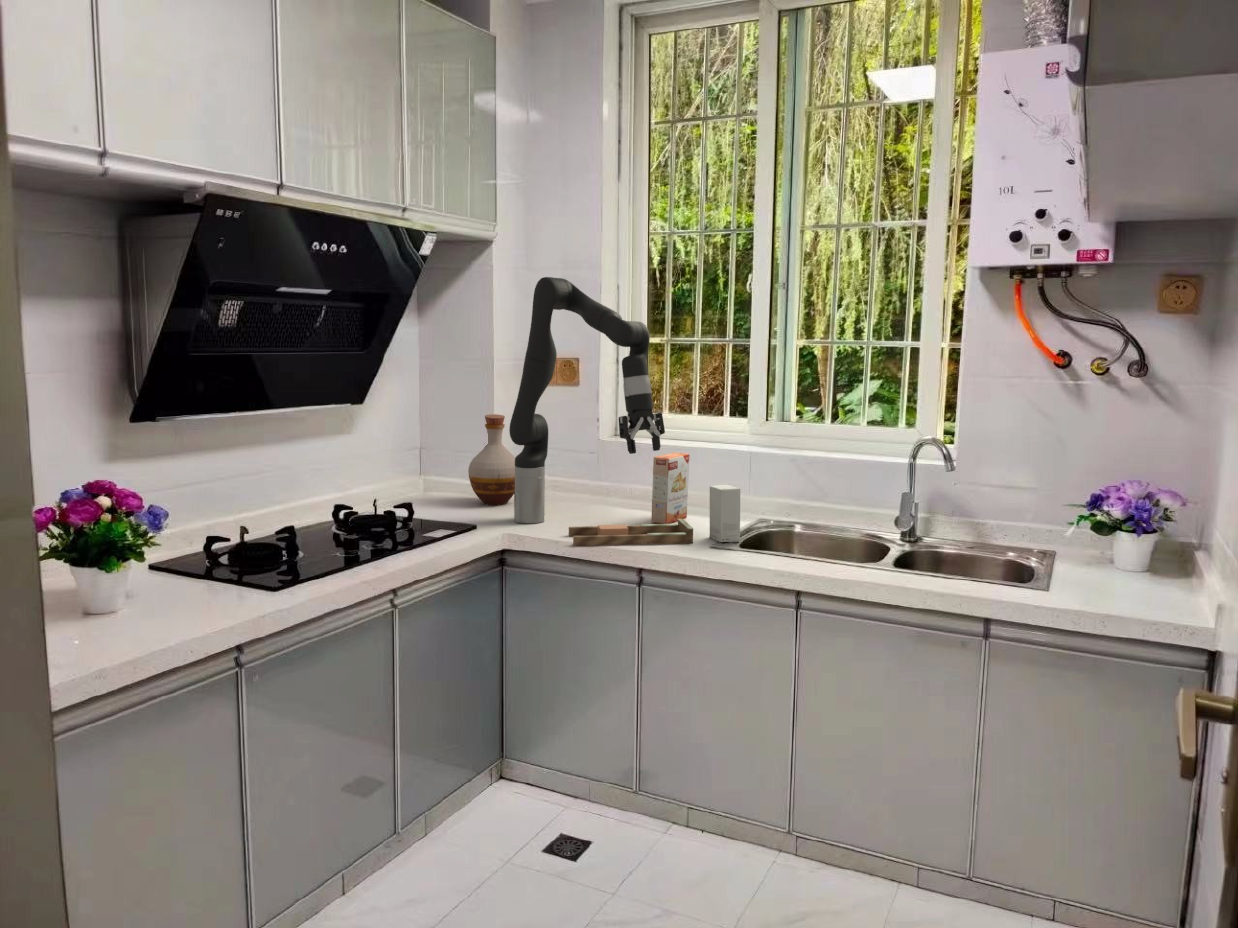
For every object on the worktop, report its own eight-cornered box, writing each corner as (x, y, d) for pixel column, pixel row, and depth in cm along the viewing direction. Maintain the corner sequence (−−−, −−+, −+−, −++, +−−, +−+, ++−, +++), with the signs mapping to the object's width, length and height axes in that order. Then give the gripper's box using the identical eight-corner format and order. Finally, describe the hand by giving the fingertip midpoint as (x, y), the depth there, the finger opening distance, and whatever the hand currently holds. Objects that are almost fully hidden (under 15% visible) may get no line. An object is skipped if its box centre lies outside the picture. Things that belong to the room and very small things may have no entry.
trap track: (573, 545, 258) (573, 530, 257) (568, 535, 270) (568, 520, 270) (693, 543, 263) (693, 528, 263) (682, 532, 276) (682, 518, 275)
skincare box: (740, 542, 265) (742, 488, 263) (719, 543, 263) (720, 489, 261) (728, 535, 273) (729, 483, 271) (707, 537, 271) (709, 484, 269)
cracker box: (667, 525, 286) (669, 458, 282) (650, 523, 289) (652, 456, 285) (688, 517, 297) (690, 453, 294) (671, 515, 300) (673, 451, 297)
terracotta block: (600, 542, 263) (600, 529, 262) (597, 538, 268) (597, 525, 267) (628, 541, 264) (628, 528, 264) (624, 537, 269) (624, 524, 269)
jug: (461, 499, 321) (460, 413, 317) (510, 495, 329) (510, 411, 324) (477, 509, 304) (476, 418, 299) (528, 506, 311) (528, 417, 307)
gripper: (649, 393, 263) (655, 450, 263) (609, 396, 254) (616, 455, 254) (666, 390, 257) (673, 448, 257) (626, 393, 248) (633, 453, 248)
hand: (644, 452), depth 255 cm, fingers open, 8 cm apart
